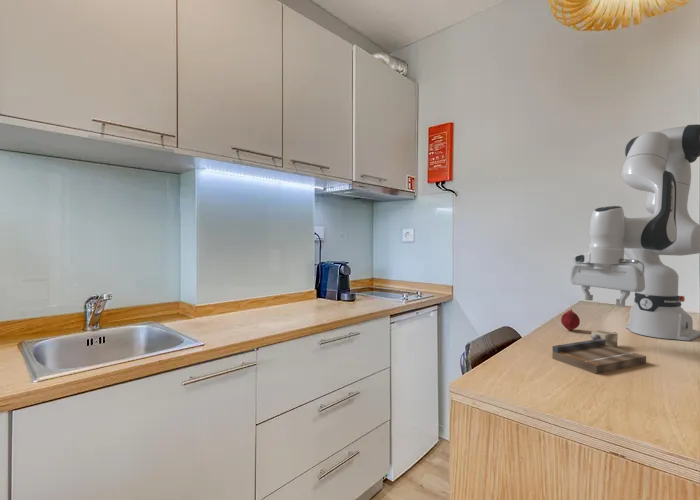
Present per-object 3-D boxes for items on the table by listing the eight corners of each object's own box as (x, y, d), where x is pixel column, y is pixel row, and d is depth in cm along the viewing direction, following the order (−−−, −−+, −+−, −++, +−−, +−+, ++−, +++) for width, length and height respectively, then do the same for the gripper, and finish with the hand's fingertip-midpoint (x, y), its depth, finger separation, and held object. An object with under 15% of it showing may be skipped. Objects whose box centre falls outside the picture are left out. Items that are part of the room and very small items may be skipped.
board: (600, 350, 104) (600, 338, 104) (646, 363, 93) (646, 350, 93) (552, 358, 97) (552, 346, 97) (596, 373, 86) (596, 360, 86)
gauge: (607, 343, 111) (608, 329, 111) (621, 346, 108) (621, 332, 107) (586, 346, 108) (587, 332, 108) (600, 350, 104) (600, 335, 104)
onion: (582, 333, 123) (583, 310, 123) (564, 332, 124) (565, 310, 124) (575, 329, 129) (575, 307, 128) (558, 328, 130) (558, 307, 130)
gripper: (651, 260, 98) (649, 308, 98) (580, 256, 117) (579, 297, 118) (637, 260, 96) (635, 309, 96) (567, 256, 115) (566, 297, 115)
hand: (604, 302), depth 107 cm, fingers open, 8 cm apart
